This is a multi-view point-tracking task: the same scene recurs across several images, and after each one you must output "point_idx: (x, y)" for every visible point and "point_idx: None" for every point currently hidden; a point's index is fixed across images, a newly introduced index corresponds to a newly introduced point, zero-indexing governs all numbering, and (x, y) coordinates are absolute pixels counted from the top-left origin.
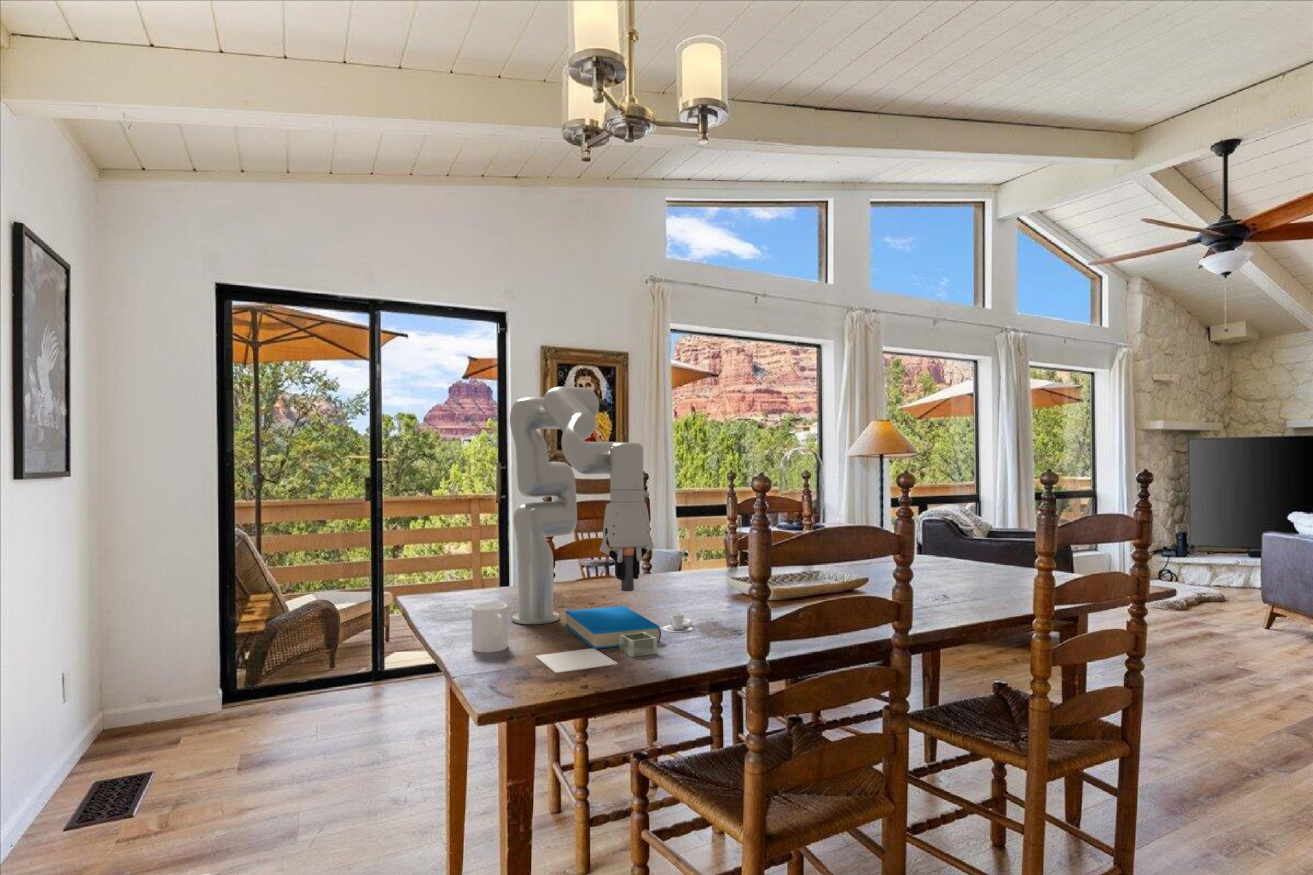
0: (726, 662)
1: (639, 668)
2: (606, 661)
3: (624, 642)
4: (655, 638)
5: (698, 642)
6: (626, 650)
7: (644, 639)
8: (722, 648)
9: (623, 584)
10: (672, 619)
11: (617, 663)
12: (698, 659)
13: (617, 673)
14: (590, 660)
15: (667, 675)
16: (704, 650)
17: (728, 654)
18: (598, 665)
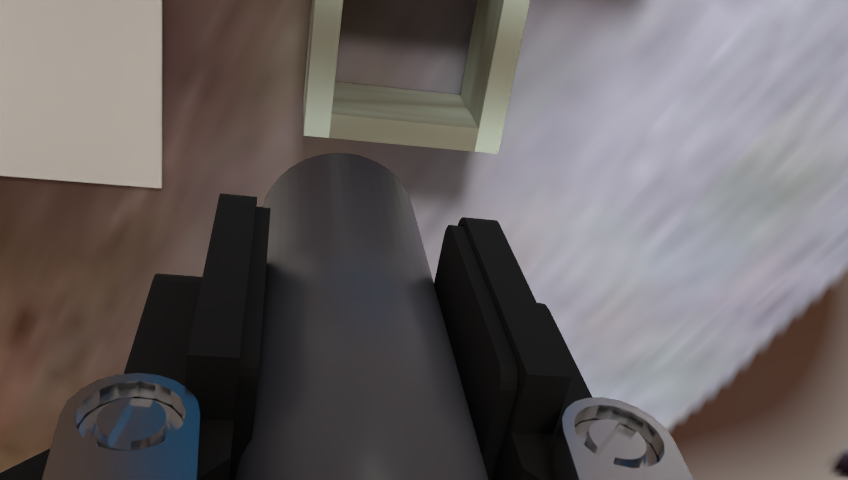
0: (636, 406)
1: None
2: (112, 119)
3: (312, 16)
4: (489, 150)
5: (831, 48)
6: (309, 38)
7: (408, 143)
8: (813, 222)
9: None
10: None
11: (159, 187)
12: (575, 316)
13: (91, 318)
14: (20, 41)
15: None
16: (719, 205)
17: (743, 318)
18: (33, 166)
